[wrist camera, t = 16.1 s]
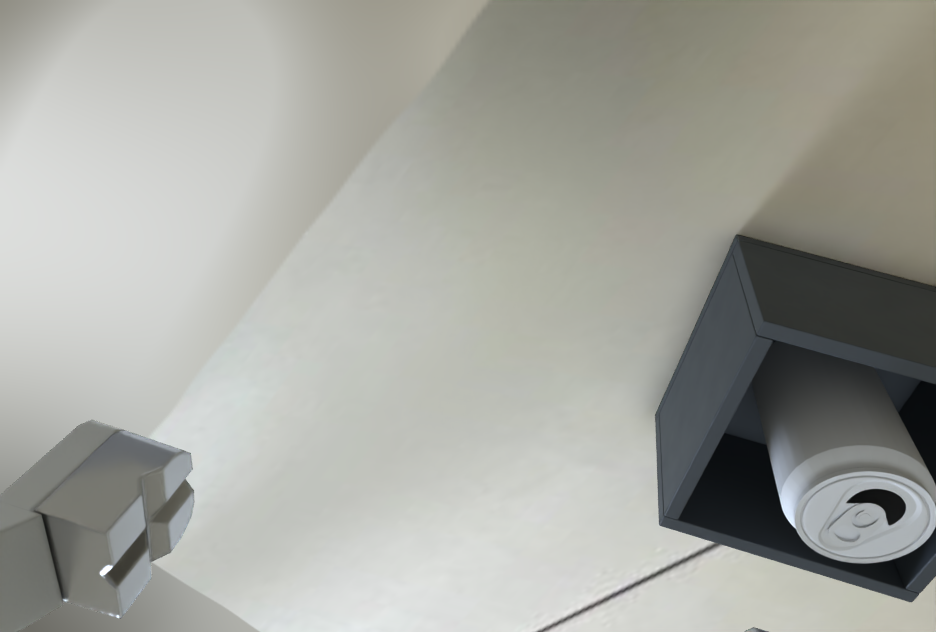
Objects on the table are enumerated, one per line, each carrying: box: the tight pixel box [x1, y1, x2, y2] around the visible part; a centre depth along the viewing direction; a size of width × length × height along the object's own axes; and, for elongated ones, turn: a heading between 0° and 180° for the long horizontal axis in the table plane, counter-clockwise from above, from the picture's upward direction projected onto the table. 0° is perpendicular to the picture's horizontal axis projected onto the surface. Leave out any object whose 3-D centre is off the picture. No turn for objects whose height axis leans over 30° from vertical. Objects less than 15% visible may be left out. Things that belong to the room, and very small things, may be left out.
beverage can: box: [752, 341, 936, 563], centre depth 34 cm, size 6×6×12 cm
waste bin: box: [655, 235, 936, 602], centre depth 36 cm, size 14×14×10 cm
